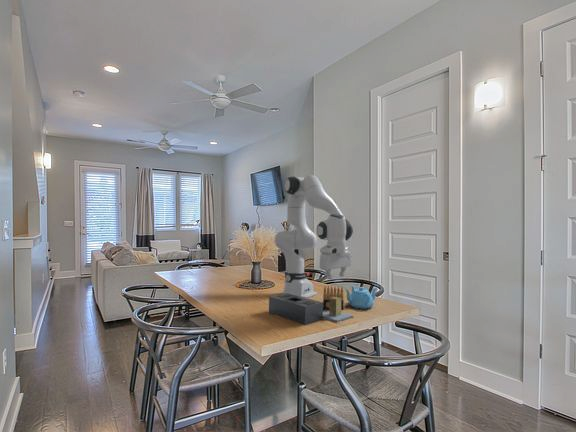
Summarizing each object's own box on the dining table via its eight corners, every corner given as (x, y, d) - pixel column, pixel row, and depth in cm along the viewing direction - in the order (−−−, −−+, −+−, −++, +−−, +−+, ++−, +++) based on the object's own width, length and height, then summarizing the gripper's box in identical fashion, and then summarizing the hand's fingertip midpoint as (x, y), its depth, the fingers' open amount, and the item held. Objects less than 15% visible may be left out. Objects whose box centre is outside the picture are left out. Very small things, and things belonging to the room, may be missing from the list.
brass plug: (334, 313, 156) (334, 296, 156) (341, 315, 153) (341, 298, 153) (329, 314, 153) (329, 297, 153) (335, 316, 150) (336, 299, 150)
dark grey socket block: (286, 308, 165) (286, 292, 166) (322, 319, 148) (323, 302, 148) (268, 313, 157) (269, 296, 157) (304, 325, 140) (305, 306, 140)
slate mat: (332, 312, 162) (332, 309, 162) (353, 317, 153) (353, 315, 153) (317, 316, 153) (317, 314, 153) (337, 322, 145) (337, 320, 145)
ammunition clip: (322, 309, 166) (323, 286, 166) (322, 308, 167) (323, 285, 168) (343, 310, 166) (344, 286, 166) (343, 309, 168) (343, 285, 168)
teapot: (370, 311, 164) (371, 291, 164) (342, 307, 171) (342, 287, 171) (377, 305, 177) (377, 286, 177) (350, 301, 184) (351, 283, 184)
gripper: (344, 246, 163) (343, 273, 163) (317, 249, 149) (316, 279, 149) (354, 247, 159) (353, 275, 159) (328, 250, 144) (327, 281, 144)
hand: (335, 277), depth 154 cm, fingers open, 8 cm apart
